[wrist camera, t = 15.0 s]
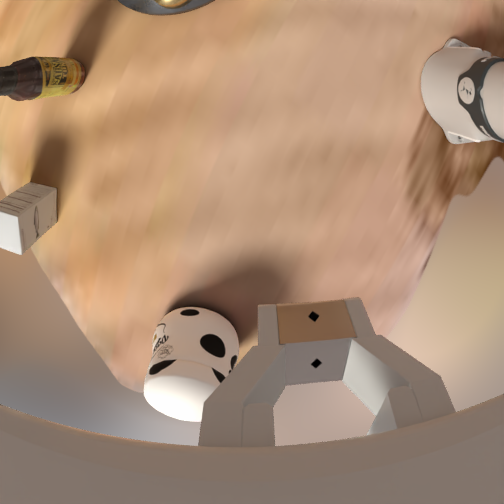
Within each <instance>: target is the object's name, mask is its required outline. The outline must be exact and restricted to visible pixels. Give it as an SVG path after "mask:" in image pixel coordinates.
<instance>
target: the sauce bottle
mask: <svg viewBox="0 0 504 504" xmlns="http://www.w3.org/2000/svg"><path fill="white" fill-rule="evenodd" d="M84 77H85V70H84V66H83V65H82V64H81V63H80V62H79V61H77V60H75V59H71V58H57V57H30V58H26V59H22V60H19V61H16V62H13V64H11V65H10V66H6V67H0V96H2V95H4V96H6V95H7V96H9V97H10V98H11V99H13V100H16V101H23V100H33V99H40V98H46V97H54V96H63V95H68V94H71V93H74V92H75V91H77V90H78V89H79V88H80V87H81V86H82V84H83V81H84Z"/></svg>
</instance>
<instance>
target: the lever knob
mask: <svg viewBox="0 0 504 504" xmlns="http://www.w3.org/2000/svg"><path fill="white" fill-rule="evenodd" d="M154 1H155V2H156V3H158V4H159V5H160V6H162V7H164V8H167V9H178V8H181V7H183V6H185V5H187V4H188V3H190V2H191V1H192V0H154Z"/></svg>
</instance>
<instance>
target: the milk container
mask: <svg viewBox="0 0 504 504" xmlns="http://www.w3.org/2000/svg"><path fill="white" fill-rule="evenodd" d="M152 346H153V355H152V358H151V361H150V364H149V367H148V370H147V374H146V377H145V383H144V396H145V398H146V400H147V401H148V403H149V404H150V405H151V406H153V407H154V408H155V409H156V410H158V411H160V412H162V413H163V414H166V415H167V416H170V417H173V418H177V419H180V420H186V421H193V422H201V420H202V412H203V404H204V401H205V400H206V399H207V398H208V397H209V396H210V395H211V394H212V393H213V391H214V390H215V389H216V388H217V387H218V386H219V385H220V384H221V382H222V381H223V380H224V379H225V378H226V377H227V376H228V375H229V373H230V372H231V371H232V370H233V369H234V367H235V364H236V362H237V359H238V355H239V342H238V337H237V333H236V331H235V329H234V327H233V326H232V325H231V323H230V322H229V321H228V320H227V319H226V318H224V317H223V316H222V315H220V314H219V313H217V312H214V311H212V310H209V309H206V308H201V307H183V308H178V309H175V310H173V311H171V312H170V313H168V314H167V315H165V316H164V317H163V318H162V320H161V321H160V323H159V324H158V326H157V328H156V330H155V332H154V336H153V345H152Z"/></svg>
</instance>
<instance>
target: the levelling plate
mask: <svg viewBox="0 0 504 504" xmlns="http://www.w3.org/2000/svg"><path fill="white" fill-rule="evenodd" d="M118 1H119V2H120V3H122V4H123V5H125V6H126V7H128V8H130V9H132V10H135V11H137V12H140V13H144V14H150V15H174V14H180V13H185V12H189V11H192V10H195V9H198V8H200V7H203V6H205V5H207V4H209V3H211V2H213V1H215V0H192V1H191V2H190V3H188V4H187V5H185V6H183V7H181V8H178V9H167V8H164V7H162V6H160V5H159V4H158V3H156V2H155V1H154V0H118Z"/></svg>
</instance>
